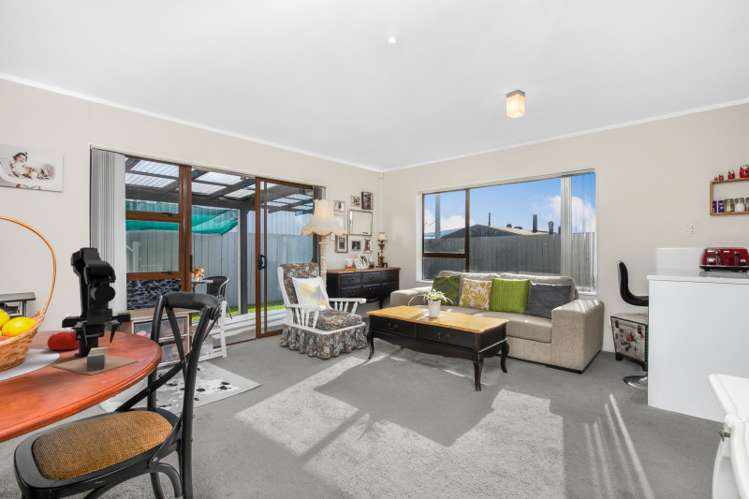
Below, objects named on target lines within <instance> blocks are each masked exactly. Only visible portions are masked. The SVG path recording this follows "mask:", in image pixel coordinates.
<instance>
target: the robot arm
mask: <svg viewBox="0 0 749 499" xmlns="http://www.w3.org/2000/svg"><path fill="white" fill-rule="evenodd" d="M70 266H71V267H72V271H73V274H75V275H76V276H77V277H78V284H79V295H80V296H79V299H80V300H79V301H80V315H73V316H66V317H65V318H63V320H62V321H61V328H62V329H66V328H67V329H68V328H71V331H72V330H73V331H72V332H73V339H74V340H75V341H78V340H79V347H78V352H77V353H73V356H75V357H81V358H84V357H87V356H88V354H89V352H90V350H91V348H99V338H104V337H105V332H106V331H105V330H106V323H107V322H112V323H111V324H112V325H111V331H110V335H109V344H112V342H113V339H114V336H115V334H116V332H117V330H118V328H119V326H123V324H125V323H131V322H132V313H131V312H127V311H125V312H118V313H117V314H116V315H113V314H114V313H113V308H112V307H111V308H110V306H109V304H110V302H111V301H113V300H114V298H115V297H116V290H115V288H114V287H113V286H110V285H111V284H115V283H116V280H117V276H116V271H115V268H113V266H112V265H111V263H109V262H108V261H106V260H102V259H101V256H100V252H99V251H98V248H97V247H95V246H94V247H90V246H88V247H87V246H86V247H85V246H84V247H80V248H79V250H77V251H74V252H73V253H71V256H70Z"/></svg>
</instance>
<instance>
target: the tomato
mask: <svg viewBox="0 0 749 499" xmlns="http://www.w3.org/2000/svg"><path fill="white" fill-rule="evenodd" d="M73 332H74V331H61V332H58V333H54V334H53V333H52V335H50V336H48V337H49V338H48V339H47V343H46V345H47V347H48V349H49V350H51V351H66V350H67V351H68V350H75V349H79V340H78V341H75V340H74V339H73Z"/></svg>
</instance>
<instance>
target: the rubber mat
mask: <svg viewBox="0 0 749 499" xmlns="http://www.w3.org/2000/svg"><path fill="white" fill-rule="evenodd" d="M136 363H139V360H137V359H132V358H126V357H123V356H122V357H121V356H116V355H111V354H107V362H106V365H105V368H104V369H99V370H92V371H87V357H81V358H76V359H73V360H69V361H65V362H61V363H58V364H53V365H52V367H53V368H56V369H62V370H65V371H71V372H73V373H78V374H79V373H80V374H83V375H88V376H91V377H92V376H94V375H99V374H102V373H105V372H108V371H109V372H110V371H112V370H115V369H119V368H122V367H125V366H129V365H133V364H136Z"/></svg>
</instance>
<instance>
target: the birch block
mask: <svg viewBox="0 0 749 499" xmlns="http://www.w3.org/2000/svg"><path fill="white" fill-rule="evenodd" d="M107 355H108V346H102V347H101V346H98V348H91V350H90V352H89V354H88V356H87V371H92V370H99V369H104V368H105V365H106V362H107Z"/></svg>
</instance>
